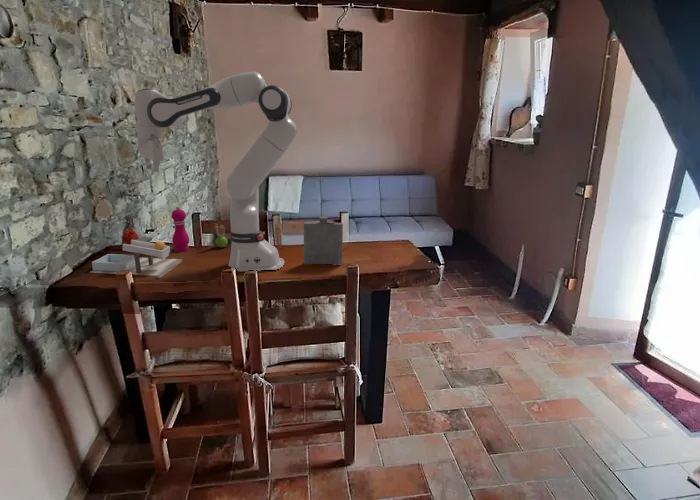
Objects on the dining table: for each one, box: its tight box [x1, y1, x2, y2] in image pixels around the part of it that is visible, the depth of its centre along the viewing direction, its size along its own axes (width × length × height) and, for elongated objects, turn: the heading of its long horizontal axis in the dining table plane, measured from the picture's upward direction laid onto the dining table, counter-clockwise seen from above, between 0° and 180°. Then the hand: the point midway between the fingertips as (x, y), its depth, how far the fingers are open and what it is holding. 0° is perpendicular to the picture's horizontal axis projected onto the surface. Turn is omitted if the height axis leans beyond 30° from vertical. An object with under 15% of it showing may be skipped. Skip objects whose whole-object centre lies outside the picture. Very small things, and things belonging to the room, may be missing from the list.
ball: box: [154, 241, 166, 250], centre depth 169 cm, size 4×4×4 cm
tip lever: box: [122, 235, 171, 260], centre depth 174 cm, size 16×17×4 cm
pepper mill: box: [171, 205, 190, 253], centre depth 197 cm, size 7×7×20 cm
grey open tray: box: [91, 253, 135, 272], centre depth 172 cm, size 11×11×4 cm
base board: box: [88, 253, 183, 279], centre depth 174 cm, size 27×20×8 cm
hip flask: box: [303, 215, 344, 266], centre depth 184 cm, size 16×4×20 cm, turn 90°
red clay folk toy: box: [121, 214, 140, 248], centre depth 197 cm, size 8×7×15 cm
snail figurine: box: [214, 223, 229, 249], centre depth 203 cm, size 5×6×12 cm
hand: (152, 170), depth 173 cm, fingers open, 8 cm apart
